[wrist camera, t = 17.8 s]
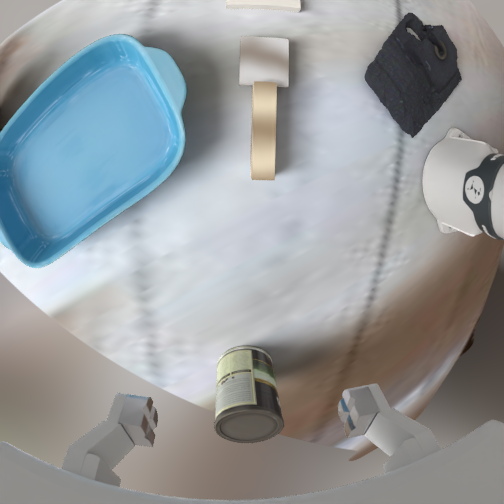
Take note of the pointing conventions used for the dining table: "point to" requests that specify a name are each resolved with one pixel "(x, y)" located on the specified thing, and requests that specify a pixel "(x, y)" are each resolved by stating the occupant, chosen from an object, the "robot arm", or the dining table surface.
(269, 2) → the tile
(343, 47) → the dining table surface
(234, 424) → the coffee can
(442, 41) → the black folded cloth
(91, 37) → the dining table surface
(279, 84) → the turner
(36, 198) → the casserole dish
